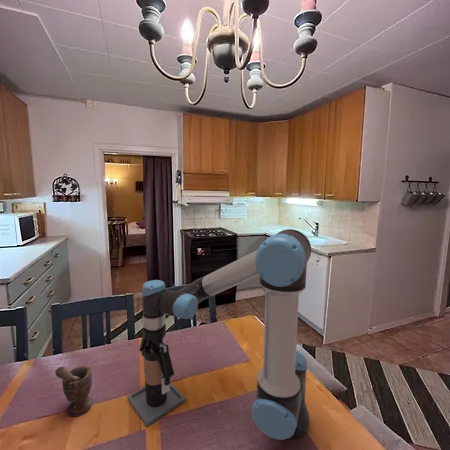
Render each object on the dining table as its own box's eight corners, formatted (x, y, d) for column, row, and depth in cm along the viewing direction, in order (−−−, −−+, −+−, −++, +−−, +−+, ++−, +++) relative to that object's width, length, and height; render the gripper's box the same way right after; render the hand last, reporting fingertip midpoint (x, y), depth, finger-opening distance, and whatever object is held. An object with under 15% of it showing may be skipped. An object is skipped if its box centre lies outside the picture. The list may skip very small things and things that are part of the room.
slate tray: (185, 401, 91) (185, 397, 91) (146, 427, 81) (146, 423, 81) (164, 379, 102) (164, 375, 102) (127, 399, 92) (127, 396, 91)
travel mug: (161, 409, 87) (160, 356, 84) (141, 405, 88) (139, 353, 86) (171, 392, 94) (169, 342, 92) (152, 389, 96) (150, 340, 93)
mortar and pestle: (84, 425, 81) (80, 368, 79) (55, 429, 80) (50, 371, 77) (96, 397, 93) (93, 346, 90) (71, 400, 91) (67, 348, 89)
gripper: (184, 335, 81) (184, 395, 84) (147, 309, 99) (149, 359, 102) (163, 345, 76) (164, 408, 79) (128, 315, 94) (130, 368, 97)
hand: (156, 381), depth 90 cm, fingers open, 13 cm apart
